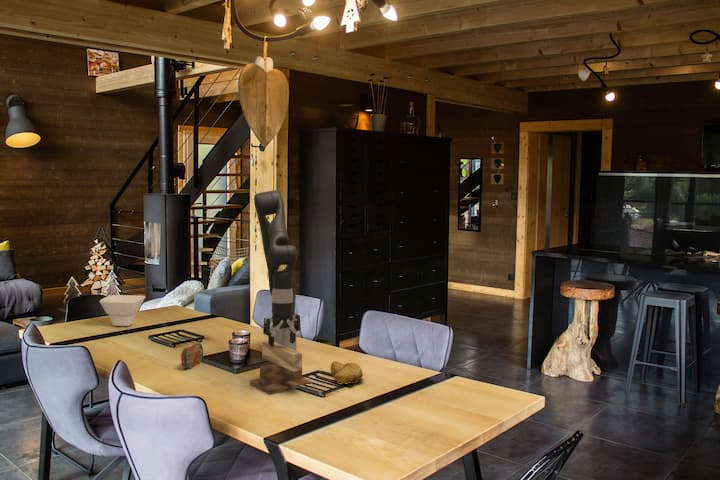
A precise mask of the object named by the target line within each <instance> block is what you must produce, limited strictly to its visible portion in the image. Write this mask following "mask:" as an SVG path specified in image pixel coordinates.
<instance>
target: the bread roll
mask: <svg viewBox="0 0 720 480" xmlns="http://www.w3.org/2000/svg"><path fill="white" fill-rule="evenodd" d="M330 372H331V375H333V376H332V377H333V380H335V381H338V382H342V383H349V382H353V381H354V382H355V383H354V384H357V383H359V382H360V381H361V380H362V378H363V376H364V374H363V370H362V368H361V366H360V365H359V364H357V363H354V362H347V363H342V362H339V361H336V360H335V361H332V362H331V364H330ZM335 381H334V382H335Z"/></svg>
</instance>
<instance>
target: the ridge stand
mask: <svg viewBox="0 0 720 480" xmlns="http://www.w3.org/2000/svg"><path fill="white" fill-rule="evenodd" d="M311 383H313V381H311V380H310V379H307V378H304V377H303V369H302V370H300V371H294V372H293V371H291V370H289V369H286V368H284V367H282V366H280V365H277V364H275V363H272V364H264V365H260V366H259V378H257V379H256V378H255V379H251V380H249V385H250V386H252V387H253V388H256V389H257V390H260V391H261V392H263V393H265V394H267V395H275V394H276V395H277V394H279V393H285V392H290V391H294V390H295V391H296V390H297V389H296V388H297V387H298V386H300V385H306V384H311Z"/></svg>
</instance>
